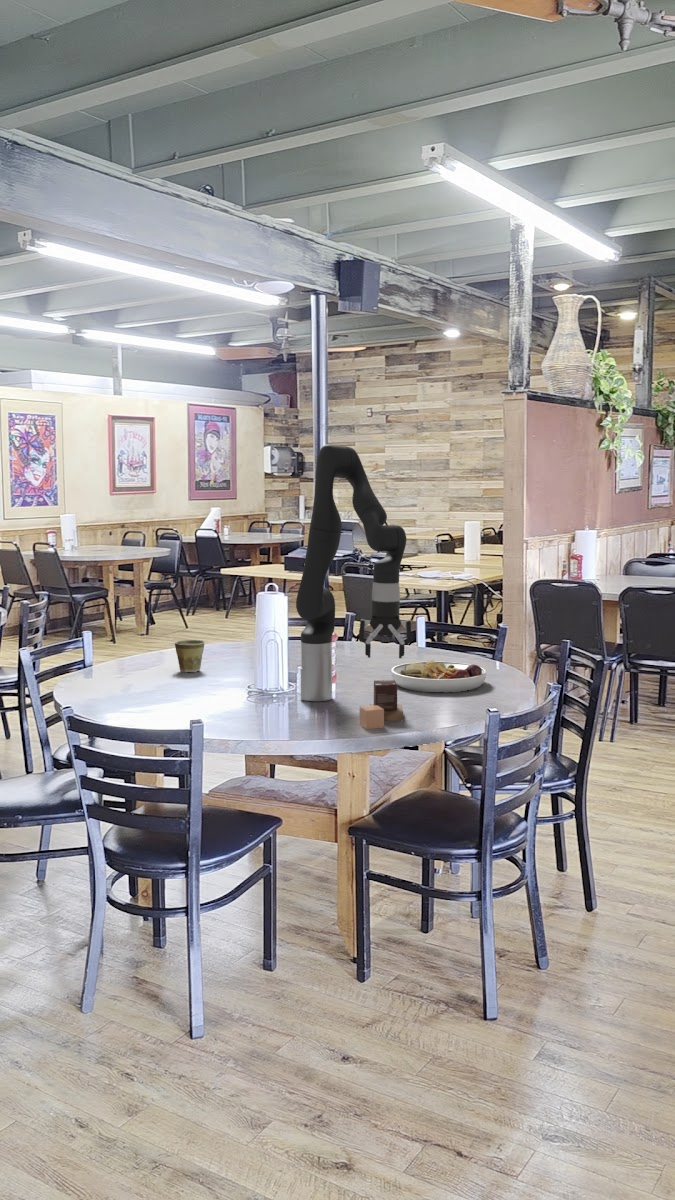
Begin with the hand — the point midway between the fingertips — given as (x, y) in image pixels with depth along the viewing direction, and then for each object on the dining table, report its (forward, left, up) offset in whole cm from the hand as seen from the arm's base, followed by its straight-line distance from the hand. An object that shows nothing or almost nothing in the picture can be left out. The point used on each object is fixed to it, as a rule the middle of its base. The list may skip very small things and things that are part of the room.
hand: (384, 657), depth 275 cm
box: (0, 0, -14) cm, 14 cm away
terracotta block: (-4, -10, -17) cm, 20 cm away
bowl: (+18, +44, -17) cm, 51 cm away
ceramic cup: (-65, +67, -17) cm, 95 cm away
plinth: (0, 0, -17) cm, 17 cm away
